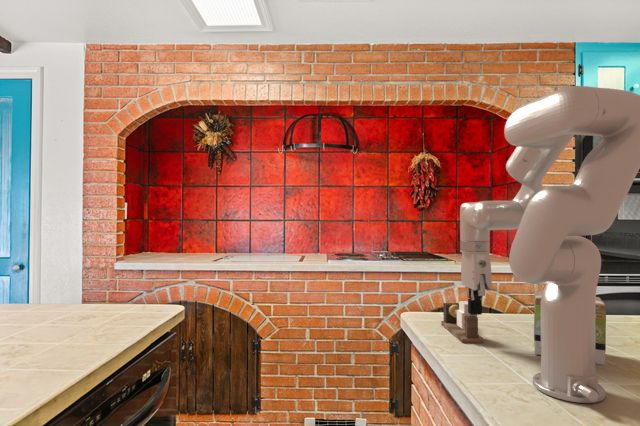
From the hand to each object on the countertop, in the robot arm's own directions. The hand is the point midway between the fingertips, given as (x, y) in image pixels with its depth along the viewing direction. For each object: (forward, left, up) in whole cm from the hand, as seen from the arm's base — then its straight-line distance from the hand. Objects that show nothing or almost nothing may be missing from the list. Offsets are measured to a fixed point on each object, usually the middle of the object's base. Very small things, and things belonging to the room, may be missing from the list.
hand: (474, 313), depth 109 cm
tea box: (-8, -21, -9) cm, 24 cm away
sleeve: (+6, 0, -5) cm, 8 cm away
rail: (+10, 0, -9) cm, 14 cm away
